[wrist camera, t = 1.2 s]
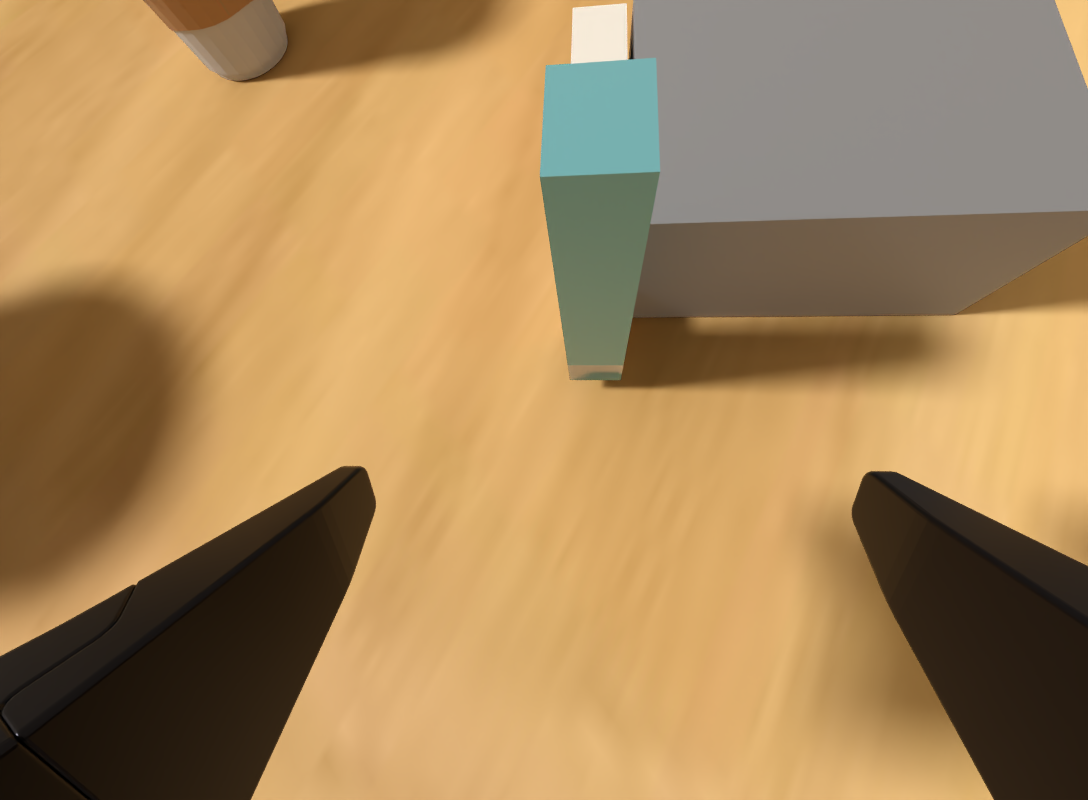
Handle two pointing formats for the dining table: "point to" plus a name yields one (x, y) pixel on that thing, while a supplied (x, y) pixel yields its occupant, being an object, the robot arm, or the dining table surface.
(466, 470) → the dining table surface
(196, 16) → the coffee cup
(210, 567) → the robot arm
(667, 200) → the carton sleeve
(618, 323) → the teal white angled piece
